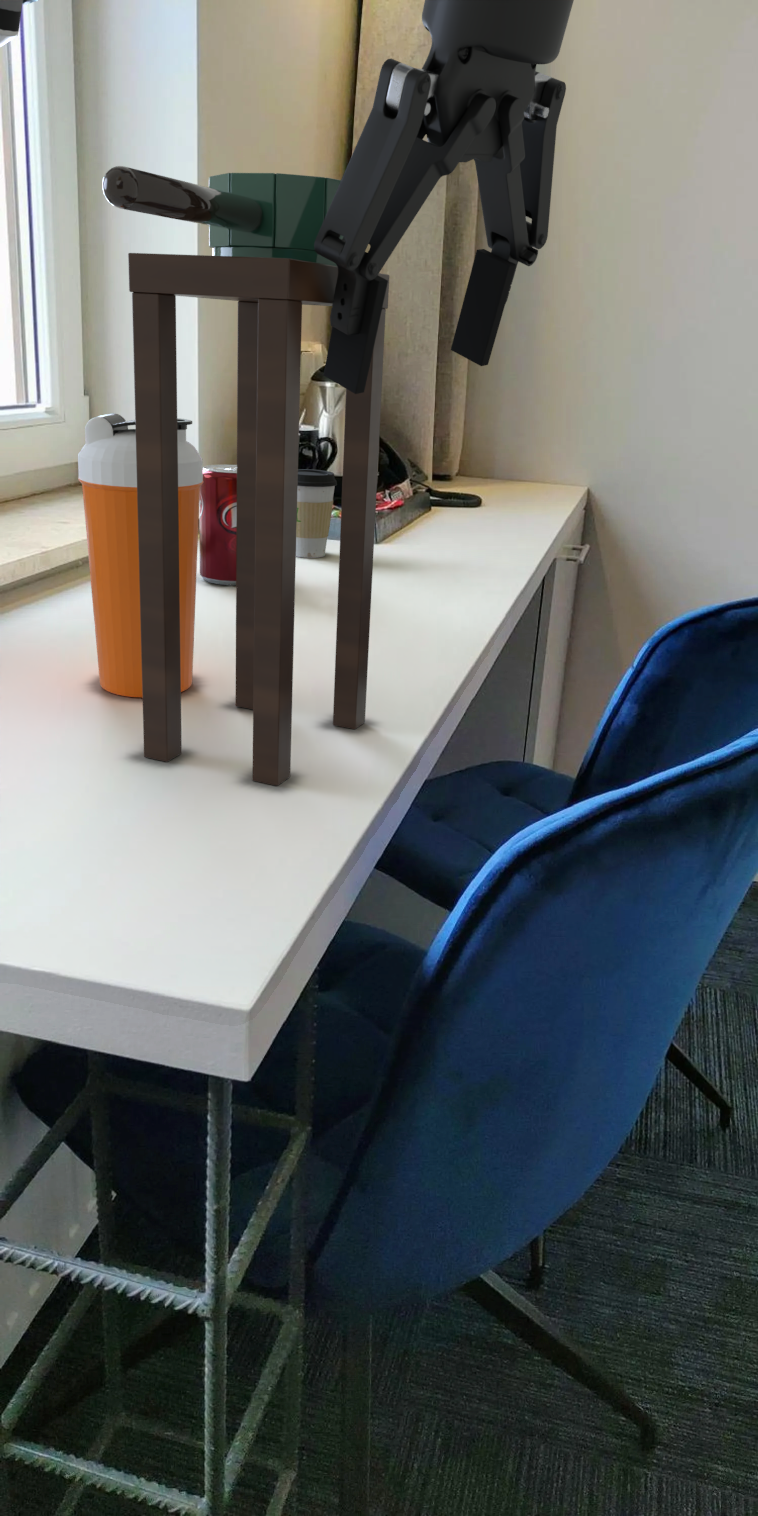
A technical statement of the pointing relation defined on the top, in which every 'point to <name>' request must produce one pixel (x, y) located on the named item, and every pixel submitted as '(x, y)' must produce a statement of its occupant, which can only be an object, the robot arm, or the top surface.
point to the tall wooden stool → (249, 494)
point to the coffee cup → (313, 511)
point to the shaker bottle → (132, 548)
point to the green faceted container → (235, 209)
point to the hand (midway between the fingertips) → (409, 370)
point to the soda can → (218, 524)
